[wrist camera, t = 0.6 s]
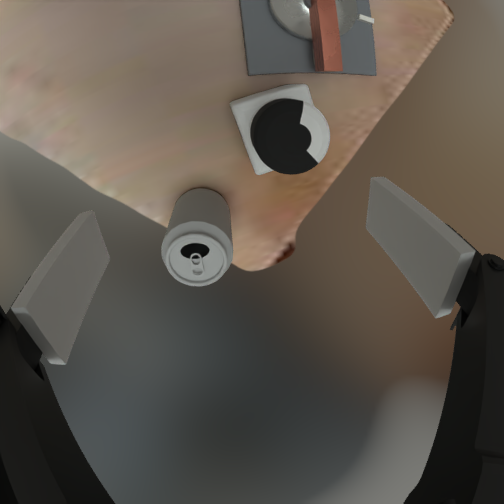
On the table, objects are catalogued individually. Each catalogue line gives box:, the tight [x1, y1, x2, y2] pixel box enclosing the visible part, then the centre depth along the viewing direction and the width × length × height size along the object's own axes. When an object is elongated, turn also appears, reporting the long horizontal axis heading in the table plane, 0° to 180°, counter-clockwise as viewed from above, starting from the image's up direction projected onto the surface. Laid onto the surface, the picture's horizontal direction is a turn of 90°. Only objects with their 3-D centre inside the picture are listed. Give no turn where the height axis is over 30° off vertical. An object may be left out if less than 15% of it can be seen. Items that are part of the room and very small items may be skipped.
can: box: [161, 188, 233, 286], centre depth 33 cm, size 8×8×12 cm
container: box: [230, 84, 330, 175], centre depth 27 cm, size 8×8×13 cm
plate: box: [239, 0, 377, 76], centre depth 24 cm, size 18×16×2 cm
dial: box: [268, 0, 357, 72], centre depth 22 cm, size 14×10×5 cm
